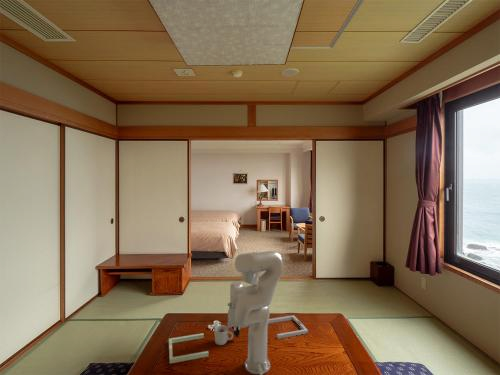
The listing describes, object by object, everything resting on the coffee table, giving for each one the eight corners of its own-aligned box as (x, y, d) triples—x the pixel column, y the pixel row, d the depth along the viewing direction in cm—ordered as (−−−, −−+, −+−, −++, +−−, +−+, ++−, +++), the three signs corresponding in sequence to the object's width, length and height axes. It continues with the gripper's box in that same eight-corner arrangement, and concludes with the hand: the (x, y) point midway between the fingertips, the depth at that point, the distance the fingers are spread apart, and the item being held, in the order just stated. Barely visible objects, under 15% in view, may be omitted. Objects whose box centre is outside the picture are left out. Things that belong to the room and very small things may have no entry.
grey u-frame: (308, 333, 167) (308, 329, 167) (278, 338, 161) (278, 334, 161) (293, 318, 185) (293, 314, 185) (266, 322, 180) (266, 318, 179)
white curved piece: (206, 330, 171) (206, 323, 171) (211, 323, 178) (211, 317, 178) (220, 332, 169) (220, 325, 168) (224, 325, 176) (224, 319, 176)
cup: (234, 339, 161) (234, 325, 160) (231, 347, 153) (231, 333, 153) (215, 338, 162) (215, 324, 162) (212, 346, 154) (212, 332, 154)
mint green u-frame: (208, 356, 145) (208, 351, 145) (169, 363, 139) (169, 358, 139) (203, 336, 163) (203, 332, 163) (168, 342, 158) (168, 337, 157)
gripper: (225, 309, 153) (225, 341, 154) (251, 305, 158) (251, 337, 158) (222, 303, 160) (222, 334, 161) (247, 300, 165) (247, 330, 165)
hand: (236, 335), depth 160 cm, fingers closed
